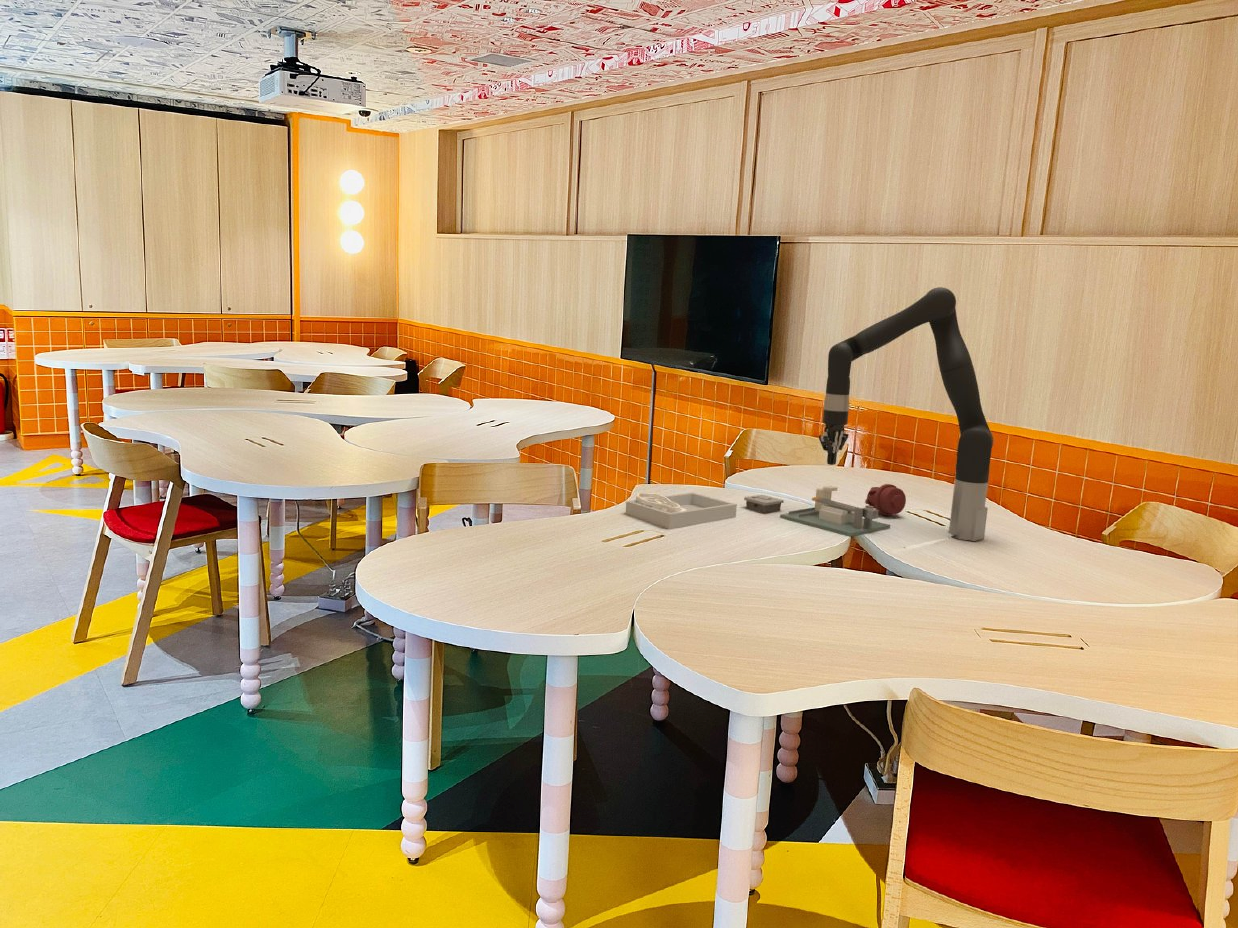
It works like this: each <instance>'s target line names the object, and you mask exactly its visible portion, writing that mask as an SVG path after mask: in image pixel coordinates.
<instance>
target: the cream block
mask: <svg viewBox="0 0 1238 928" xmlns="http://www.w3.org/2000/svg"><path fill="white" fill-rule="evenodd" d="M836 491H838V487H837V486H833V485H829V486H823V487H818V488H816V490H815V492H816V493H815V497H821V498H825V499H828V500H832V494H833V493H832V492H836ZM814 502H815V504H814V507H815V511H819V510H820V509H821V506H825V505H828V504H824V503H820V502H816V501H814ZM828 506H829V505H828Z"/></svg>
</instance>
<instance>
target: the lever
mask: <svg viewBox="0 0 1238 928" xmlns="http://www.w3.org/2000/svg"><path fill="white" fill-rule="evenodd" d="M811 501H814V502H815V501H816V502H820V503H824V504H828V505H831V506H835V507H839V508H842V509H846V510H850V511H853V512H855V507H856V506H854V505H852V504H847V503H843V502H841V501H840V502H838V501H835V500H832V499H831V500H828V499H825V498H821V497H816V496H814V497H812V498H811ZM862 508H863V517H862V518H864V517H865V518H869V519H872V520H875V519H879V514H880V513H879V510H876V509H875V508H873V509H872V508H869V507H866V508H865V507H862Z"/></svg>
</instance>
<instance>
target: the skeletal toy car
mask: <svg viewBox="0 0 1238 928" xmlns="http://www.w3.org/2000/svg"><path fill="white" fill-rule="evenodd" d="M665 496H666V495H661V494H659V493H653V492H652V493H651V492H649V493H646V492H645V493H644V492H637V493H636V495H635V500H638V501H639V502H641V503H642V505H645V504H646V505H648V506H652V508H655V509H658V510H662V511H665V512H668V513H674V512H681V511H686V509H684V508H681V507H680V505H679V504H677V503H675V502H672V501H670V500H669V499H668V498H666V497H665ZM647 498H658V499H647ZM671 506H674V507H671Z"/></svg>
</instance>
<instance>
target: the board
mask: <svg viewBox="0 0 1238 928" xmlns="http://www.w3.org/2000/svg"><path fill="white" fill-rule="evenodd" d="M866 507H869V508H872V509H875V508H874V507H873V506H869V504H866V505H865V507H859V506H855V512H853V511H850V510H846V509H842V508H839V507H835V506H831V505H829V506H828V505H825V506H821V509H820V510H819V511H815V506H813V507H807V508H803V509H802V508H801V509H796V510H790V511H788V513H781V514H780V515H779V518H780V519H784V520H788V521H791V522H793V523H794V522H795V523H798V524H801V525H806V526H810V527H813V528H817V529H822V530H825V531H827V532H828V531H829V532H831V533H834V534H835V533H836V534H839V535H843V536H846V537H854V536H860V535H865V534H869V533H874V532H878V531H884V530H888V529H891V524H887V523H884V522H880V521H877V520H873V519H869V518H865V517H863V508H866Z"/></svg>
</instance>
